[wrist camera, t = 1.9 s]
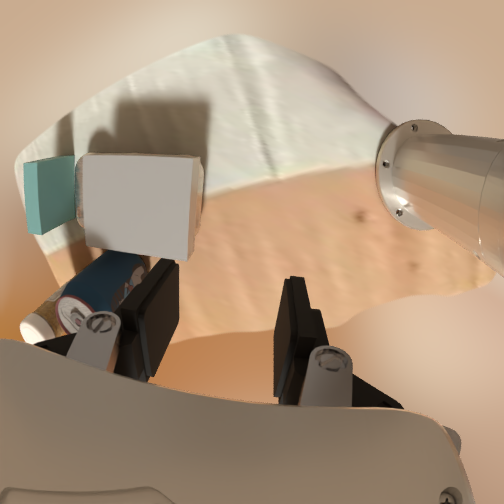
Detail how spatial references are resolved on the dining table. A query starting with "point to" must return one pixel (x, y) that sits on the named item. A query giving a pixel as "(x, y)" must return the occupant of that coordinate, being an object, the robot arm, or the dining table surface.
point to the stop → (49, 193)
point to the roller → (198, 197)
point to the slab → (141, 203)
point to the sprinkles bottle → (43, 321)
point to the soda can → (99, 288)
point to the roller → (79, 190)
